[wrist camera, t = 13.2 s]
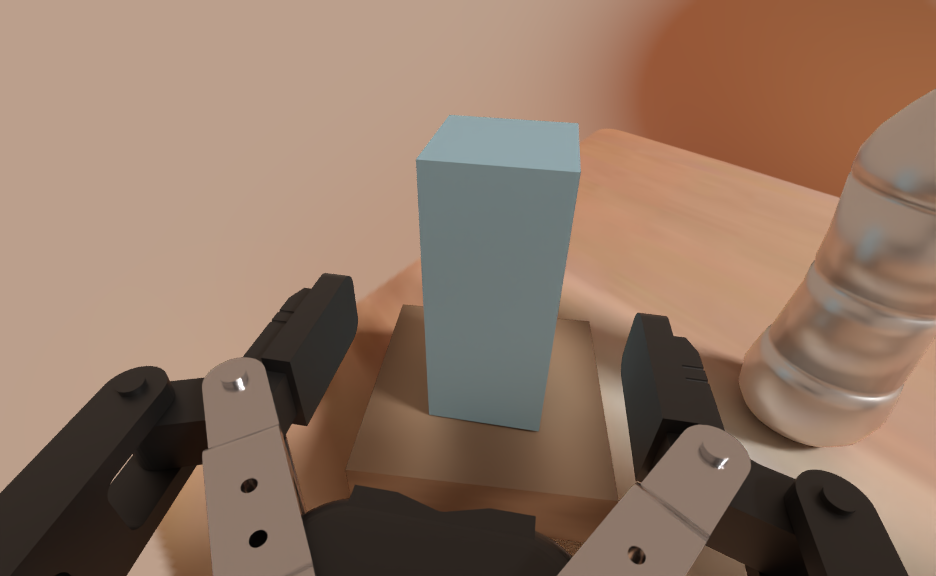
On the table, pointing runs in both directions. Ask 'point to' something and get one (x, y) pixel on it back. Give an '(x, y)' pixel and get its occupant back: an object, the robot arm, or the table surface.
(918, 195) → the plastic bottle
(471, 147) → the blue block
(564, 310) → the table surface
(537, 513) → the walnut block
